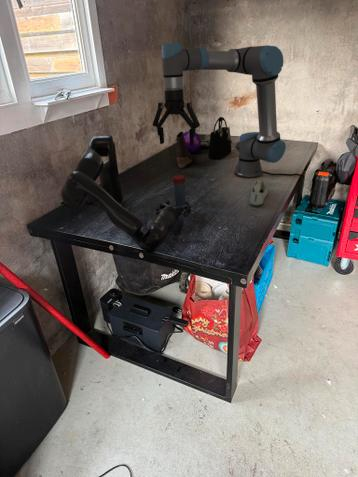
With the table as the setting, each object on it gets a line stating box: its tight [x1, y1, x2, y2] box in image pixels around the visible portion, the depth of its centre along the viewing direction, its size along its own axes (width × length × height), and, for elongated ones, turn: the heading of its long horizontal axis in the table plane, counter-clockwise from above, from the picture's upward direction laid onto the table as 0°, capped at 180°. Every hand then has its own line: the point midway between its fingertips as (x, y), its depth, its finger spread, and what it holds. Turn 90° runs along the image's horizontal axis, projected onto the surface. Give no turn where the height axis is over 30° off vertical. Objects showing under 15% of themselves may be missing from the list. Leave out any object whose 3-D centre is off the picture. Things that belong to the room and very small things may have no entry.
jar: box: [173, 181, 187, 210], centre depth 149 cm, size 5×5×15 cm
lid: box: [172, 174, 186, 184], centre depth 145 cm, size 5×5×2 cm
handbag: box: [207, 116, 232, 160], centre depth 218 cm, size 21×9×25 cm, turn 148°
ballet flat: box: [249, 179, 269, 207], centre depth 158 cm, size 8×24×8 cm, turn 163°
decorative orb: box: [183, 130, 202, 154], centre depth 230 cm, size 15×15×15 cm
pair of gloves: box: [199, 134, 233, 149], centre depth 252 cm, size 30×26×5 cm
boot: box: [175, 131, 194, 169], centre depth 209 cm, size 9×24×20 cm, turn 168°
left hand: (177, 203), depth 146 cm, fingers open, 8 cm apart
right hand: (176, 144), depth 138 cm, fingers open, 13 cm apart
